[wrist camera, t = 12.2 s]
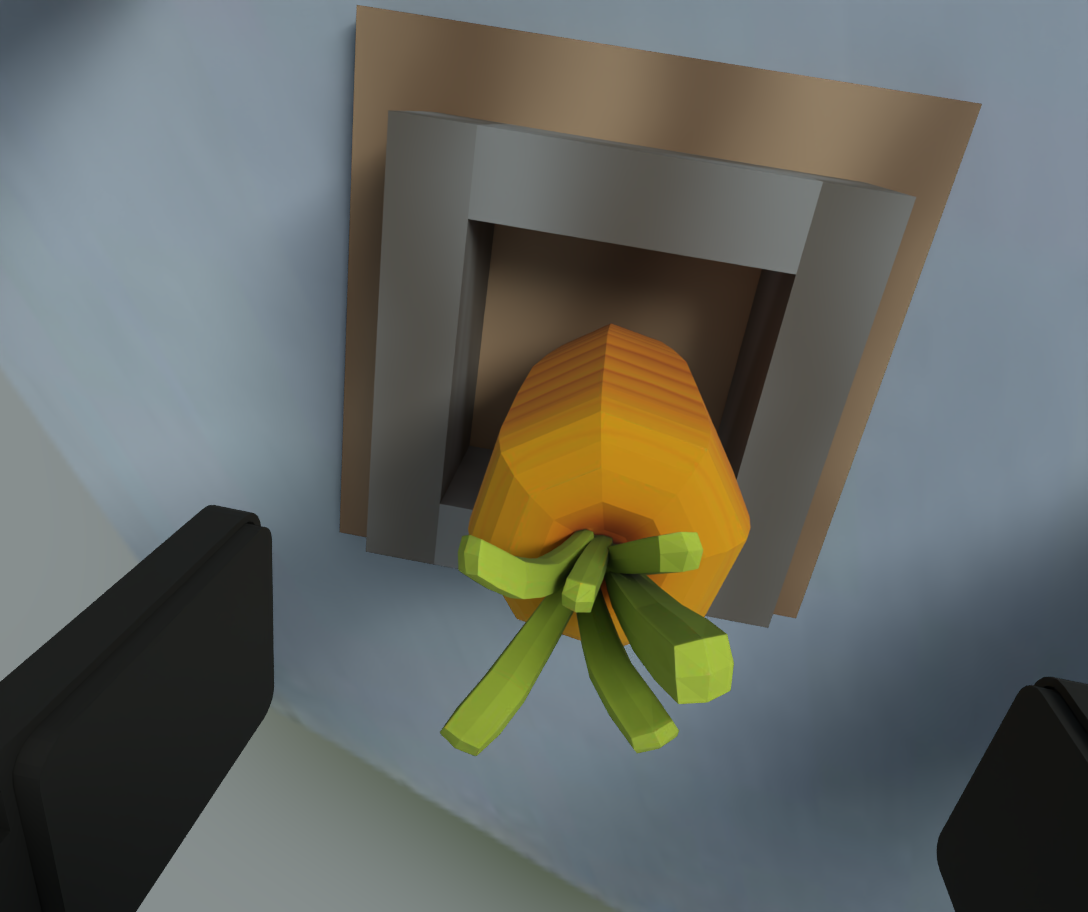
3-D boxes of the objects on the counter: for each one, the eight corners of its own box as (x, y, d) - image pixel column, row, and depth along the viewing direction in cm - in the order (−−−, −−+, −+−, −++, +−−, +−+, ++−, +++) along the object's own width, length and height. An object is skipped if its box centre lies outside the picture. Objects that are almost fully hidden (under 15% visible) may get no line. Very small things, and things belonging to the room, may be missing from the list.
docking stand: (966, 104, 19) (1065, 100, 15) (790, 601, 26) (822, 701, 22) (369, 10, 20) (291, -22, 16) (349, 518, 27) (291, 599, 22)
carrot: (537, 432, 23) (416, 868, 10) (525, 274, 21) (353, 550, 8) (697, 429, 23) (800, 887, 9) (700, 266, 21) (839, 549, 7)
